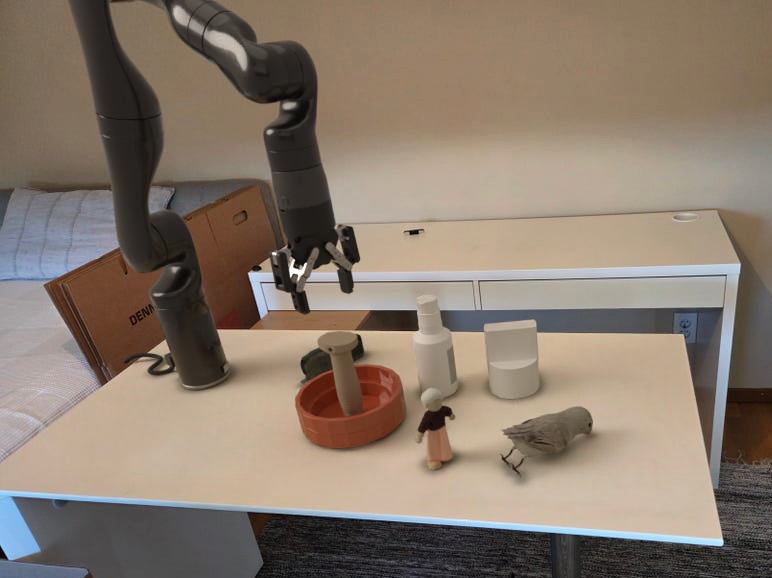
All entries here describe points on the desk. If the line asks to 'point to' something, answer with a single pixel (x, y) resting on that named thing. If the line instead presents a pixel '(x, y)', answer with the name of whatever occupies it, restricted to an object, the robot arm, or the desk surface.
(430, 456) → the grandmother figurine
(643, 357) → the desk surface
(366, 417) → the bowl
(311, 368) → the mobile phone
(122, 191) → the robot arm
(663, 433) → the desk surface
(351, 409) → the handle
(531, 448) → the decorative bird
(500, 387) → the base with upright slab
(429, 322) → the spray bottle
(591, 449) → the desk surface
